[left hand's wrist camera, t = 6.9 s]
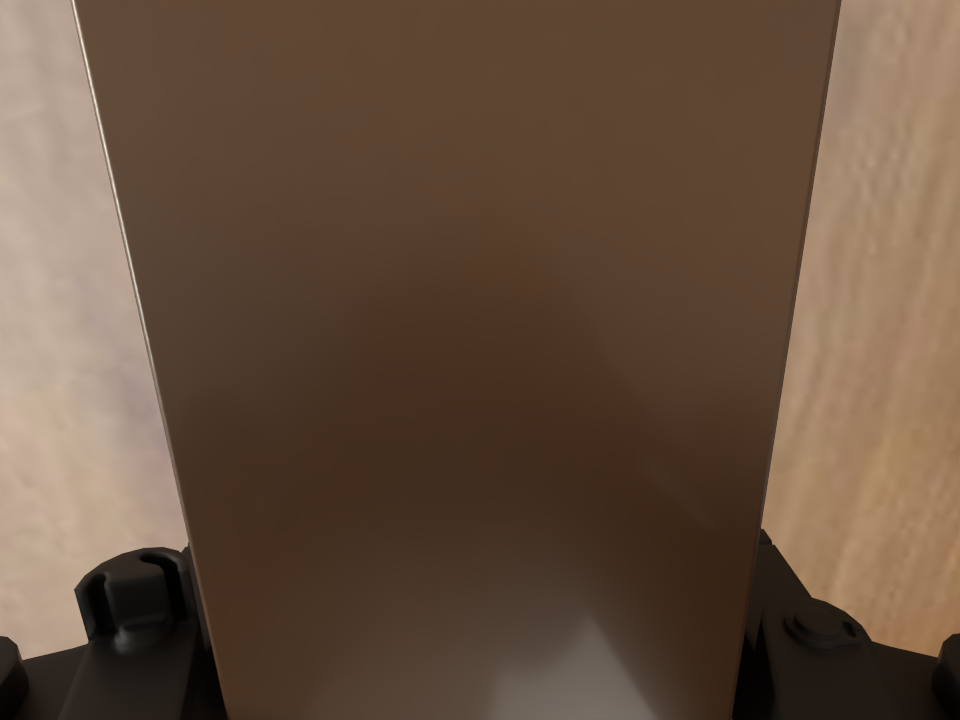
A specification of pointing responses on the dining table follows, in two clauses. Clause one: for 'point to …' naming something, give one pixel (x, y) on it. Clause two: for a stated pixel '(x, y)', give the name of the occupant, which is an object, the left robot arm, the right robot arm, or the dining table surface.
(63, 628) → the dining table surface
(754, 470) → the plank
